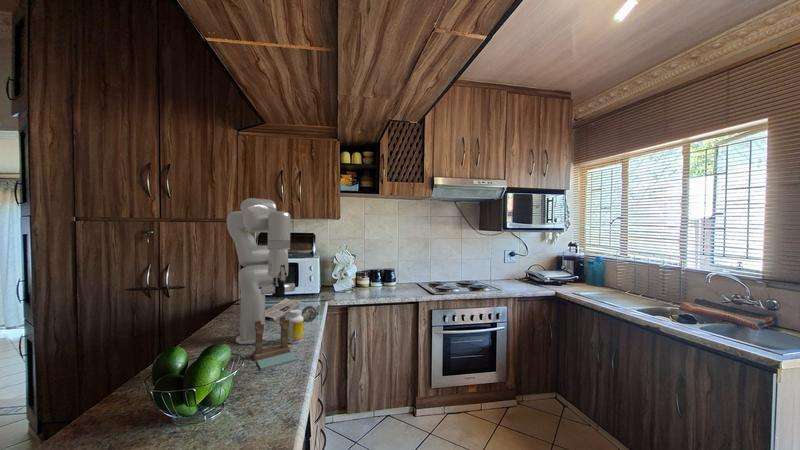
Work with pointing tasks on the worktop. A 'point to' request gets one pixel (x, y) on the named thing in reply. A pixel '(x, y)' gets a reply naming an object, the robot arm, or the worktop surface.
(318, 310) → the spaceship
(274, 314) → the newspaper
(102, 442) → the worktop surface
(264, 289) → the steel rail
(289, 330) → the supplement bottle
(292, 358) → the rubber mat
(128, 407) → the worktop surface
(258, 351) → the walnut rack
